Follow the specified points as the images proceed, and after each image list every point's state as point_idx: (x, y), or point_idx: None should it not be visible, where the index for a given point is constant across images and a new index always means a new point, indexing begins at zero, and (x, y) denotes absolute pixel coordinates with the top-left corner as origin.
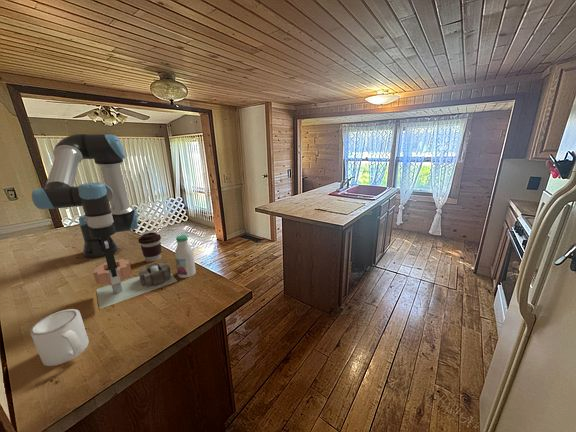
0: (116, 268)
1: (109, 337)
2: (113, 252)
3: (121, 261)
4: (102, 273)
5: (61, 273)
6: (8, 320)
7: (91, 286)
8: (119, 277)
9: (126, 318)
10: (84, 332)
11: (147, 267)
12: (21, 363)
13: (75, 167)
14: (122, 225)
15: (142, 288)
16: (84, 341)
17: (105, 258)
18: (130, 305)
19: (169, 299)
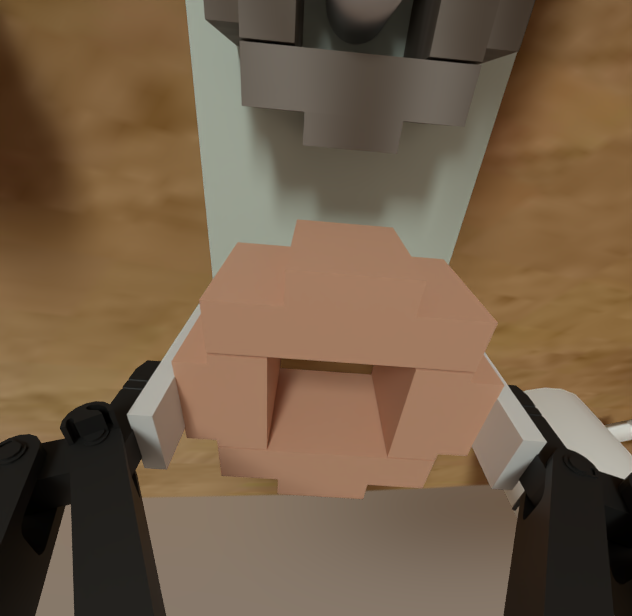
0: (535, 434)
1: (609, 347)
2: (67, 425)
3: (286, 335)
4: (428, 468)
5: None
6: (235, 491)
7: (140, 339)
8: (484, 352)
9: (567, 284)
10: (601, 431)
11: (260, 22)
12: (472, 476)
13: None
14: None
15: (412, 155)
16: (593, 414)
17: (169, 460)
18: (482, 247)
19: None
